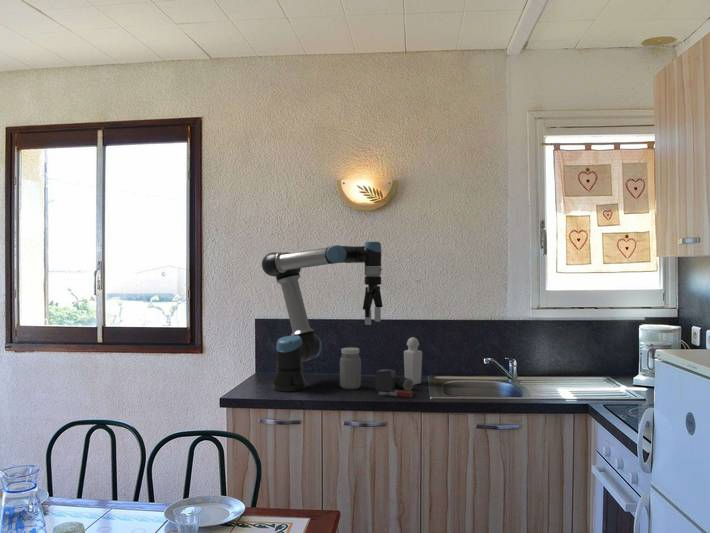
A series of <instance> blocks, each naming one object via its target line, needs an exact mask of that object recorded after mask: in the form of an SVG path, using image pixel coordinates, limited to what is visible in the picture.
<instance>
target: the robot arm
mask: <svg viewBox="0 0 710 533" xmlns="http://www.w3.org/2000/svg"><path fill="white" fill-rule="evenodd" d="M342 263H344V264H357V263H358V264H361V263H362V264H364V284H365V285H366V287H365V290H364V291H365V293H364V298H363V306H362V310H363V311H364V325H367V326H369V325H370V326H371V325H372V308H371V307H372V304H374V306H375V307H374V322H381V320H382V318H381V316H382V314H381V313H382V312H381V311H382V310H381V308H383V301H382V295H381V294H382V293H381V286H380V285H381V284H382V276H381V275H382V271H383V268H382V244H381V242H379V241H365V242H364V245H362V246H360V245H359V246H358V245H357V246H355V245H354V246H351V245H337V244H336V245H331V246H328V247H327V246H326V247H323V248H316V249H315V248H314V249H308V250H307V249H306V250H302V251H296V252H288V251H287V252H281V251H280V252H275V251H274V252H269V253H267V254H266V255H265V256H264V257H263V258H262V261H261V268H262V270H263V272H264V273H265V274H266V275H268V276H269V277H270V276H271V277H275V280H276V283H277V284H278V285H280V286H281V291H282V294H283V298H284V302H285V307H286V310H287V314H288V318H289V322H290V327H291V331H292V333H291V335H287V336H283V337H280V338H278V339H277V341H276V347H275V349H276V373H275V376H274V379H273V382H272V389H273V390H275V391H278V392H296V391H297V392H298V391H302V390H305V389H306V388H307V385H306V384H307V383H306V379H305V377H304V372H303V362H307V361H311V360H315V358H316V359H317V358H318V357H319V355H320V354H321V353H322V348H323V343H322V340H321V339H320V337H318V335H316V333H315V329H314V328H313V329H312V327H310V322H309V319H308V314H307V312H306V307H305V303H304V299H303V295H302V291H301V287H300V282H299V279H300V277H301V275H300V273H301V270H302V269H304V268H311V267H319V266H325V265H335V264H342ZM373 302H374V303H373Z"/></svg>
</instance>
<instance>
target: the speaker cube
mask: <svg viewBox="0 0 710 533" xmlns="http://www.w3.org/2000/svg"><path fill="white" fill-rule="evenodd" d="M396 371H397V370H393V369H385V368H382V369H379V370H377V371H375V386H374V388H375V391H378V390H380V391H392V390H396V386H395V376H397V375H396Z"/></svg>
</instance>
